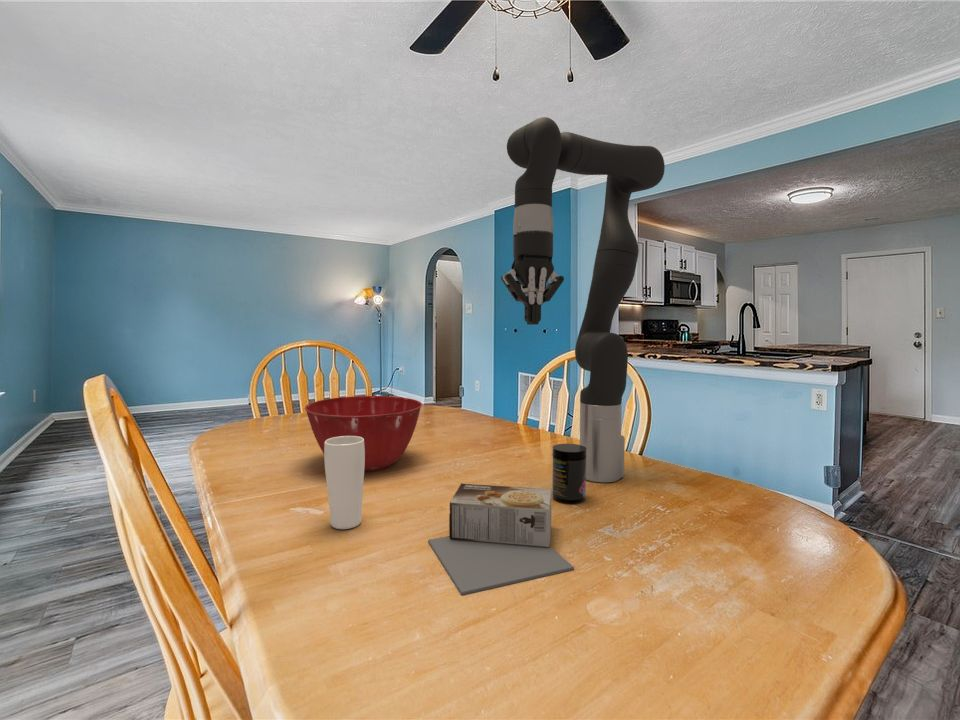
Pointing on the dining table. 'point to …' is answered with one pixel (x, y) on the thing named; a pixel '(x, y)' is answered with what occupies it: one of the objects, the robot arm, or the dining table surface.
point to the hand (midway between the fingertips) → (532, 324)
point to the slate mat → (494, 563)
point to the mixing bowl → (367, 424)
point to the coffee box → (501, 515)
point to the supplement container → (569, 473)
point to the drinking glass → (345, 479)
